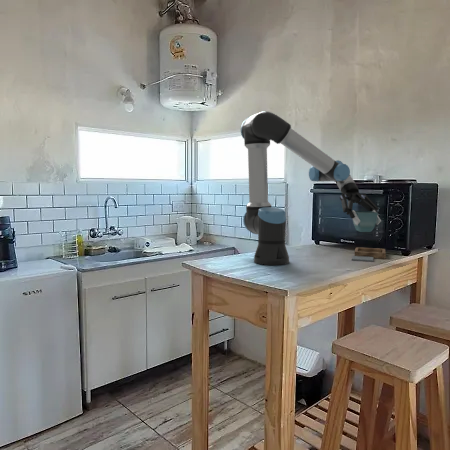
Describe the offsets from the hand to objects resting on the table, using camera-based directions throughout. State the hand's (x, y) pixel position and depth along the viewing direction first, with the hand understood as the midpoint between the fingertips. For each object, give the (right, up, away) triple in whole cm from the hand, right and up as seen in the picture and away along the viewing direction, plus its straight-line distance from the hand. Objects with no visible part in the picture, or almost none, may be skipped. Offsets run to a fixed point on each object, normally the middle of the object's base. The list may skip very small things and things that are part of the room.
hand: (368, 223), depth 180 cm
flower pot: (-1, -4, +3) cm, 5 cm away
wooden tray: (+5, -15, +13) cm, 21 cm away
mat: (-2, -16, +3) cm, 17 cm away
